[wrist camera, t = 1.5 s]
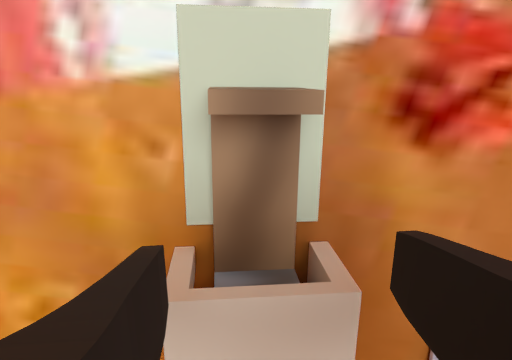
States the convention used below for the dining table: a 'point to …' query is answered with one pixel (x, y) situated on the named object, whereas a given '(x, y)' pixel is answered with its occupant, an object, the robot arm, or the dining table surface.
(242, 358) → the tunnel
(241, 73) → the mat
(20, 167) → the dining table surface
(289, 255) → the brown t-shaped bar
